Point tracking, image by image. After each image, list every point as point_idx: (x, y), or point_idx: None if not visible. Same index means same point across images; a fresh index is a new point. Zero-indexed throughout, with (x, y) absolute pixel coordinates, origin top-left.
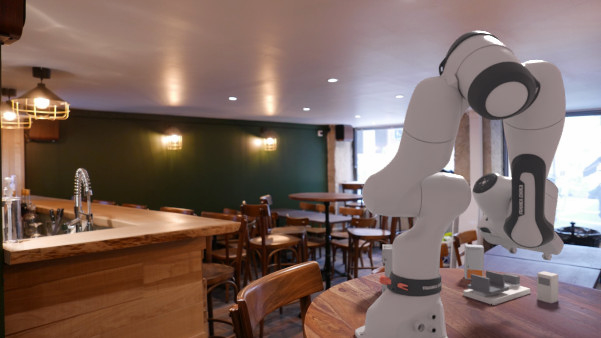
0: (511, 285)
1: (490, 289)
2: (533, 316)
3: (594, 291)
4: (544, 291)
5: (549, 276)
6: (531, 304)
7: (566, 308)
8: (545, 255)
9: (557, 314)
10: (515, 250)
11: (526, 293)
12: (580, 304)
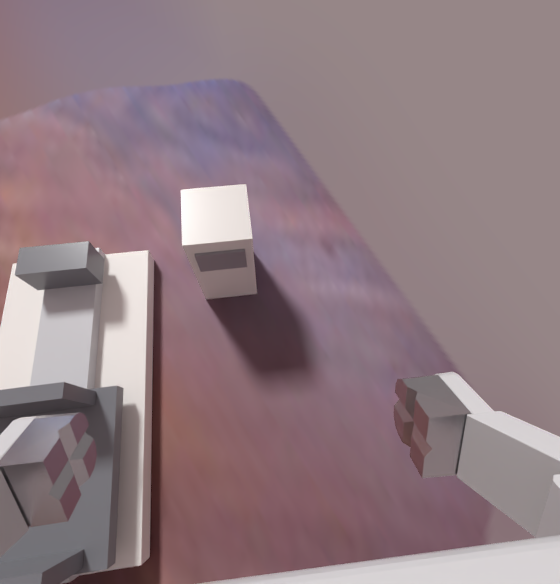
0: (94, 310)
1: (79, 529)
2: (320, 505)
3: (252, 90)
4: (228, 279)
5: (243, 241)
6: (229, 373)
7: (312, 296)
8: (497, 506)
9: (340, 385)
10: (75, 449)
11: (152, 283)
12: (306, 222)
